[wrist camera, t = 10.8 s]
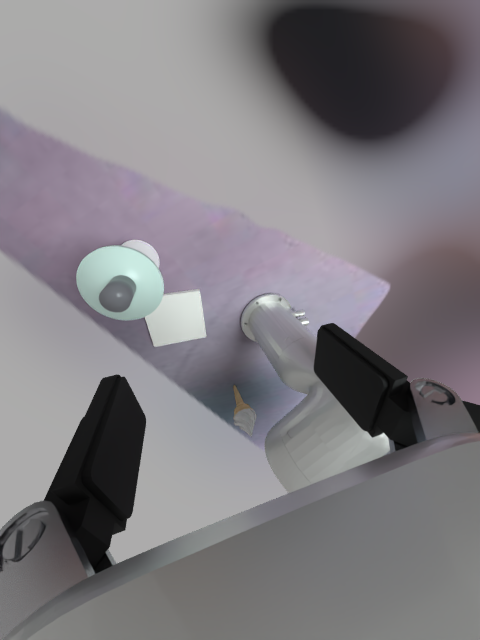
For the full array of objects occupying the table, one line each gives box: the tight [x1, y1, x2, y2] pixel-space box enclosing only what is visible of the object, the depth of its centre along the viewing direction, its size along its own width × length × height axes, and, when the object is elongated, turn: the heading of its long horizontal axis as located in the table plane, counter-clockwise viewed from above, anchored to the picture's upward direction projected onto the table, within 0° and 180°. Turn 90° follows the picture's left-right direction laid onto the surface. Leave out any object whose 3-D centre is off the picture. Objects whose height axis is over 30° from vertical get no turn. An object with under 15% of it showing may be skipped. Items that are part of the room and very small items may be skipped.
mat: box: [145, 289, 207, 347], centre depth 41 cm, size 11×11×1 cm
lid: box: [76, 245, 164, 320], centre depth 23 cm, size 9×9×5 cm
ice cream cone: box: [233, 385, 256, 437], centre depth 50 cm, size 6×6×15 cm
